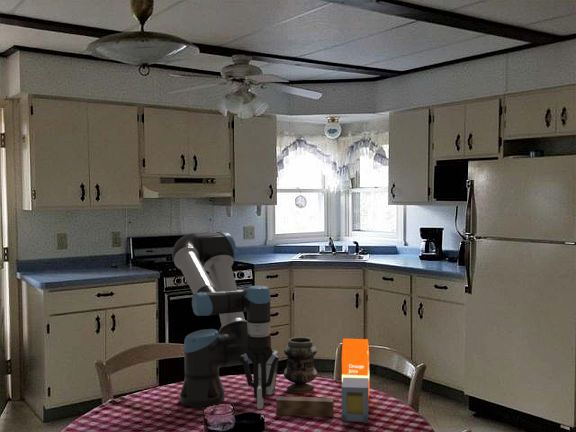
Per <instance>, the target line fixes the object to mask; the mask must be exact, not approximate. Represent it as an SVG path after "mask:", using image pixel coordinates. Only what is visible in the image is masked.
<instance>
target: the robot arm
mask: <svg viewBox="0 0 576 432" xmlns="http://www.w3.org/2000/svg"><path fill="white" fill-rule="evenodd" d="M171 251H172V252H171V254H172V255H171V258H172V261H173V264H174V265H175V267H176V268H177V269H178V270H180V271H181V273H182V275H183V276H184V278H185V280H186V282H187V284H188V286H189V288H190V290H191V293H192V298H191V307H192V311H193V313H194V315H195V316H198V317H199V316H201V317H202V316H204V317H205V316H206V317H207V316H215V315H218V316H219V320H220V323H221V324H220V325H221V326H220V328H219V330H218V329H216V328H215V329H214V328H208V329H207V328H206V329H205V328H204V329H200V330H199V329H198V330H196V331H193V332H190V333H189V334H187V335H186V336H185V338H184V341H183V342H184V343H183V352H184V353H183V355H184V359H183V360H184V379H183V384H182V387H181V391H180V393H179V402H180V403H181V405H184V406H187V407H193V408H201V407H202V408H205V407H210V405H212V406H214V405H213V404H216V405H218V404H221V403H222V402H224V401H225V395H226V393H225V390H224V387H223V384H222V381H221V378H220V368H225V367H226V368H227V367H235V366H243V370H244V375H245V379H246V382H247V385H248V387H252V388H253V397H254V398H256V405H257V406H256V407H257V408H256V409H257V410H262V409H263V407H264V399H266V397H267V394H266V387H269V386H271V384H272V380H273V376H274V371H275V367H276V363H277V361H278V362H279V359H280V358H281V357H280V356H279V355H277V356H276V355H275V354H273V351H272V350H273V349H272V335H271V333H272V332H271V331H272V329H271V328H272V327H271V326H272V325H271V324H272V321H271V300H272V299H271V290H270V288H269V286H267V285H252V286H248V287H239V288H237V283H236V280H235V276H234V272H233V269H232V267H233V265H234V263H235V262H234V261H235V260H236V257H237V245H236V241H235V240H234V238H233V236H232V235H231V234H230V233H228V232H221V231H216V232H201V233H199V232H195V233H187V234H185V235H183V236H181V237H180V238H179V239H178V240H177V241H176V242H175V244H174V246H173V248H172V250H171ZM208 273H209V274H208ZM244 313H246V319H245V314H244ZM270 357H272V359H271V361H272V364H271V369H270V373H269V378H268V382H266V362H267V361H268V360H269V358H270ZM250 364H252V372H253V373H252V372H251V368H250ZM259 364H261V386H258V385H259V376H258V367H259ZM252 374H253V375H252Z"/></svg>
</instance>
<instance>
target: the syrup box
mask: <svg viewBox="0 0 576 432" xmlns="http://www.w3.org/2000/svg"><path fill="white" fill-rule="evenodd" d="M272 351H273V354H275V355H276V356H277V355H278V356H279V353H280V352H279V351H278V350H276V349H272ZM271 359H272V357H270V358H269V360H268V361H267V362H266V382H268V378H269V373H270V369H271V364H272V361H271ZM278 362H279V360H278V361H277V363H276V367H275V371H274V376H273V380H272V384H271V386H269V387H266V396H267V395H268V396H271V395H273V393H275V391H276V386H277V385H276V382H277V376H278V375H277V374H278ZM258 376H259V385H258V386H261V364H258Z"/></svg>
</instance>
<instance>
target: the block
mask: <svg viewBox="0 0 576 432" xmlns="http://www.w3.org/2000/svg"><path fill="white" fill-rule="evenodd" d="M347 413H363V393H360V392H348V393H347Z"/></svg>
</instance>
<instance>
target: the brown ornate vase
mask: <svg viewBox="0 0 576 432" xmlns="http://www.w3.org/2000/svg"><path fill="white" fill-rule="evenodd" d="M283 352H284V355H285V356H286V357H287V359H286V360H287V363H286V367H285V369H284V370H283V376H284V378H285V379H286V380H287V381H288V382H290V383H292V384H290V385H288V386H287V387H286V390H287V391H288V392H289V393H293V394H308V393H311V392H314V390H315V387H314V386H313V385H311V384H310V382H312V381H314V380H315V379H316V378H317V376H318V371H317V370H316V368H315V365H314V357H315V356H316V354H317V353H318V349H317V347H316V345H315V344H313V339H311V338H310V337H307V336H306V337H305V336H295V337H291V338H289V339H288V343H287V345H286V346H285V347H284V348H283Z"/></svg>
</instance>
